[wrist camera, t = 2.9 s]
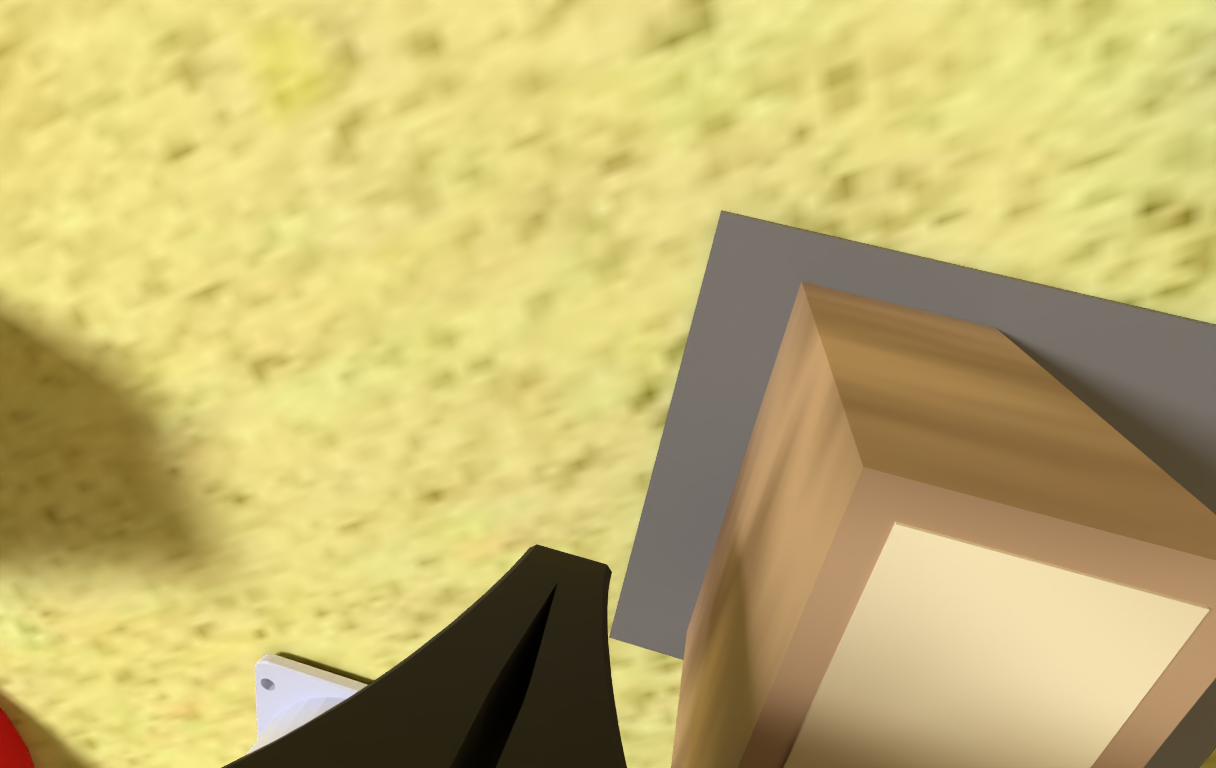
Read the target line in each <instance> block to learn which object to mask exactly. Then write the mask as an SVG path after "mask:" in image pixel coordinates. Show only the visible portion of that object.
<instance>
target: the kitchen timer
mask: <svg viewBox="0 0 1216 768" xmlns="http://www.w3.org/2000/svg"><path fill="white" fill-rule="evenodd" d="M0 768H34V765H33V762H32V759H31V756H30V753H29V750H28V748H27V747H26V745H25V743H24V742H23V740H22V739H21V737H20V736H19V734H18V732H17V731H16V729H15V728H14V726H13V725H12V723H11V721H10V720H9V718H8V717H7V715H6V714H5V712H4V711H3V710H2V709H1V708H0Z"/></svg>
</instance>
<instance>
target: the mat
mask: <svg viewBox="0 0 1216 768" xmlns="http://www.w3.org/2000/svg"><path fill="white" fill-rule="evenodd" d="M801 281H802V282H806V283H811V284H815V285H819V286H823V287H827V288H831V289H836V290H840V291H844V292H848V293H852V294H857V295H861V296H865V297H869V298H873V299H878V300H882V301H886V302H890V303H894V304H898V305H903V306H907V307H911V308H915V309H919V310H924V311H928V312H932V313H936V314H940V315H944V316H949V317H953V318H957V319H961V320H965V321H970V322H974V323H978V324H982V325H986V326H990V327H995V328H997V329H998V330H999V331H1000V332H1001V333H1002V334H1004V335H1005V336H1006V337H1007V338H1008V339H1009V340H1011V341H1012V342H1013V343H1014V344H1015V345H1017V346H1018V347H1019V348H1020V349H1021V350H1022V351H1024V352H1025V353H1026V354H1027V355H1028V356H1029V357H1031V358H1032V359H1033V360H1034V361H1035V362H1037V363H1038V364H1039V365H1040V366H1041V367H1042V368H1044V369H1045V370H1046V371H1047V372H1048V373H1049V374H1051V375H1052V376H1053V377H1054V378H1055V379H1057V380H1058V381H1059V382H1060V383H1061V384H1062V385H1064V386H1065V387H1066V388H1067V389H1068V390H1069V391H1071V392H1072V393H1073V394H1074V395H1075V396H1077V397H1078V398H1079V399H1080V400H1081V401H1082V402H1084V403H1085V404H1086V405H1087V406H1088V407H1089V408H1091V409H1092V410H1093V411H1094V412H1095V413H1097V414H1098V415H1099V416H1100V417H1101V418H1102V419H1104V420H1105V421H1106V422H1107V423H1108V424H1109V425H1111V426H1112V427H1113V428H1114V429H1115V430H1117V431H1118V432H1119V433H1120V434H1121V435H1122V436H1124V437H1125V438H1126V439H1127V440H1128V441H1129V442H1131V443H1132V444H1133V445H1134V446H1135V447H1137V448H1138V449H1139V450H1140V451H1141V452H1142V453H1144V454H1145V455H1146V456H1147V457H1148V458H1149V459H1151V460H1152V461H1153V462H1154V463H1155V464H1156V465H1158V466H1159V467H1160V468H1161V469H1162V470H1164V471H1165V472H1166V473H1167V474H1168V475H1169V476H1171V477H1172V478H1173V479H1174V480H1175V481H1176V482H1178V483H1179V484H1180V485H1181V486H1182V487H1184V488H1185V489H1186V490H1187V491H1188V492H1189V493H1191V494H1192V495H1193V496H1194V497H1195V498H1196V499H1198V500H1199V501H1200V502H1201V503H1202V504H1204V505H1205V506H1206V507H1207V508H1208V509H1209V510H1211V511H1212V512H1213V513H1214V514H1215V515H1216V325H1215V324H1211V323H1207V322H1202V321H1198V320H1194V319H1189V318H1185V317H1181V316H1176V315H1172V314H1168V313H1164V312H1159V311H1155V310H1151V309H1146V308H1142V307H1138V306H1133V305H1129V304H1125V303H1120V302H1116V301H1112V300H1107V299H1103V298H1099V297H1094V296H1090V295H1086V294H1081V293H1077V292H1073V291H1068V290H1064V289H1060V288H1055V287H1051V286H1047V285H1042V284H1038V283H1034V282H1029V281H1025V280H1021V279H1016V278H1012V277H1008V276H1003V275H999V274H995V273H990V272H986V271H982V270H977V269H973V268H969V267H964V266H960V265H956V264H951V263H947V262H943V261H938V260H934V259H930V258H925V257H921V256H917V255H912V254H908V253H904V252H899V251H895V250H891V249H886V248H882V247H878V246H873V245H869V244H865V243H860V242H856V241H852V240H847V239H843V238H839V237H834V236H830V235H826V234H821V233H817V232H813V231H808V230H804V229H800V228H795V227H791V226H787V225H782V224H778V223H774V222H769V221H765V220H761V219H757V218H752V217H748V216H744V215H739V214H735V213H731V212H726V211H722V210H721V214H720V218H719V221H718V225H717V229H716V233H715V237H714V240H713V244H712V248H711V252H710V256H709V260H708V263H707V267H706V271H705V275H704V279H703V282H702V286H701V290H700V294H699V298H698V301H697V305H696V309H695V313H694V317H693V320H692V324H691V328H690V332H689V336H688V339H687V343H686V347H685V351H684V355H683V358H682V362H681V366H680V370H679V374H678V377H677V381H676V385H675V389H674V393H673V397H672V400H671V404H670V408H669V412H668V416H667V419H666V423H665V427H664V431H663V435H662V438H661V442H660V446H659V450H658V454H657V457H656V461H655V465H654V469H653V473H652V476H651V480H650V484H649V488H648V492H647V495H646V499H645V503H644V507H643V511H642V514H641V518H640V522H639V526H638V530H637V534H636V537H635V541H634V545H633V549H632V553H631V556H630V560H629V564H628V568H627V572H626V575H625V579H624V583H623V587H622V591H621V594H620V598H619V602H618V606H617V610H616V613H615V617H614V621H613V625H612V629H611V632H610V636H609V637H610V638H613V639H616V640H620V641H623V642H626V643H629V644H633V645H636V646H639V647H643V648H646V649H649V650H653V651H656V652H659V653H662V654H666V655H669V656H672V657H676V658H679V659H682V660H684V652H685V643H686V634H687V630H688V627H689V624H690V621H691V617H692V614H693V611H694V608H695V605H696V602H697V599H698V596H699V593H700V590H701V587H702V584H703V581H704V578H705V575H706V572H707V569H708V566H709V562H710V559H711V556H712V553H713V550H714V547H715V544H716V541H717V538H718V535H719V532H720V529H721V526H722V523H723V520H724V517H725V514H726V511H727V507H728V504H729V501H730V498H731V495H732V492H733V489H734V486H735V483H736V480H737V477H738V474H739V471H740V468H741V465H742V462H743V459H744V456H745V452H746V449H747V446H748V443H749V440H750V437H751V434H752V431H753V428H754V425H755V422H756V419H757V416H758V413H759V410H760V407H761V404H762V401H763V397H764V394H765V391H766V388H767V385H768V382H769V379H770V376H771V373H772V370H773V367H774V364H775V361H776V358H777V355H778V352H779V349H780V346H781V342H782V339H783V336H784V333H785V330H786V327H787V324H788V321H789V318H790V315H791V312H792V309H793V306H794V303H795V300H796V297H797V294H798V291H799V287H800V284H801ZM1215 748H1216V678H1215V679H1214V681H1213V682H1212V683H1211V684H1210V686H1209V687H1208V688H1207V689H1206V690H1205V692H1204V693H1203V694H1202V695H1201V697H1200V698H1199V699H1198V700H1197V702H1196V703H1195V704H1194V705H1193V707H1192V708H1191V709H1190V710H1189V712H1188V713H1187V714H1186V715H1185V717H1184V718H1183V719H1182V720H1181V721H1180V723H1179V724H1178V725H1177V726H1176V728H1175V729H1174V730H1173V731H1172V733H1171V734H1170V735H1169V736H1168V738H1167V739H1166V740H1165V741H1164V743H1163V744H1162V745H1161V746H1160V747H1159V749H1158V750H1157V751H1156V752H1155V754H1154V755H1153V756H1152V757H1151V759H1150V760H1149V761H1148V762H1147V764H1146V765H1145V766H1144V767H1143V768H1199V767H1200V766H1201V765H1202V764H1203V762H1204V761H1205V760H1206V759H1207V758H1208V757H1209V755H1210V754H1211V753H1212V752H1213V751H1214V750H1215Z"/></svg>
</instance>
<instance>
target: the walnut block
mask: <svg viewBox="0 0 1216 768" xmlns="http://www.w3.org/2000/svg"><path fill="white" fill-rule="evenodd" d="M1215 678H1216V515H1215V514H1214V513H1213V512H1212V511H1211V510H1209V509H1208V508H1207V507H1206V506H1205V505H1204V504H1202V503H1201V502H1200V501H1199V500H1198V499H1196V498H1195V497H1194V496H1193V495H1192V494H1191V493H1189V492H1188V491H1187V490H1186V489H1185V488H1184V487H1182V486H1181V485H1180V484H1179V483H1178V482H1176V481H1175V480H1174V479H1173V478H1172V477H1171V476H1169V475H1168V474H1167V473H1166V472H1165V471H1164V470H1162V469H1161V468H1160V467H1159V466H1158V465H1156V464H1155V463H1154V462H1153V461H1152V460H1151V459H1149V458H1148V457H1147V456H1146V455H1145V454H1144V453H1142V452H1141V451H1140V450H1139V449H1138V448H1137V447H1135V446H1134V445H1133V444H1132V443H1131V442H1129V441H1128V440H1127V439H1126V438H1125V437H1124V436H1122V435H1121V434H1120V433H1119V432H1118V431H1117V430H1115V429H1114V428H1113V427H1112V426H1111V425H1109V424H1108V423H1107V422H1106V421H1105V420H1104V419H1102V418H1101V417H1100V416H1099V415H1098V414H1097V413H1095V412H1094V411H1093V410H1092V409H1091V408H1089V407H1088V406H1087V405H1086V404H1085V403H1084V402H1082V401H1081V400H1080V399H1079V398H1078V397H1077V396H1075V395H1074V394H1073V393H1072V392H1071V391H1069V390H1068V389H1067V388H1066V387H1065V386H1064V385H1062V384H1061V383H1060V382H1059V381H1058V380H1057V379H1055V378H1054V377H1053V376H1052V375H1051V374H1049V373H1048V372H1047V371H1046V370H1045V369H1044V368H1042V367H1041V366H1040V365H1039V364H1038V363H1037V362H1035V361H1034V360H1033V359H1032V358H1031V357H1029V356H1028V355H1027V354H1026V353H1025V352H1024V351H1022V350H1021V349H1020V348H1019V347H1018V346H1017V345H1015V344H1014V343H1013V342H1012V341H1011V340H1009V339H1008V338H1007V337H1006V336H1005V335H1004V334H1002V333H1001V332H1000V331H999V330H998V329H997V328H995V327H990V326H986V325H982V324H978V323H974V322H970V321H965V320H961V319H957V318H953V317H949V316H944V315H940V314H936V313H932V312H928V311H924V310H919V309H915V308H911V307H907V306H903V305H898V304H894V303H890V302H886V301H882V300H878V299H873V298H869V297H865V296H861V295H857V294H852V293H848V292H844V291H840V290H836V289H831V288H827V287H823V286H819V285H815V284H811V283H806V282H802V281H801V284H800V287H799V291H798V294H797V297H796V300H795V303H794V306H793V309H792V312H791V315H790V318H789V321H788V324H787V327H786V330H785V333H784V336H783V339H782V342H781V346H780V349H779V352H778V355H777V358H776V361H775V364H774V367H773V370H772V373H771V376H770V379H769V382H768V385H767V388H766V391H765V394H764V397H763V401H762V404H761V407H760V410H759V413H758V416H757V419H756V422H755V425H754V428H753V431H752V434H751V437H750V440H749V443H748V446H747V449H746V452H745V456H744V459H743V462H742V465H741V468H740V471H739V474H738V477H737V480H736V483H735V486H734V489H733V492H732V495H731V498H730V501H729V504H728V507H727V511H726V514H725V517H724V520H723V523H722V526H721V529H720V532H719V535H718V538H717V541H716V544H715V547H714V550H713V553H712V556H711V559H710V562H709V566H708V569H707V572H706V575H705V578H704V581H703V584H702V587H701V590H700V593H699V596H698V599H697V602H696V605H695V608H694V611H693V614H692V617H691V621H690V624H689V627H688V630H687V634H686V643H685V652H684V660H683V669H682V678H681V687H680V695H679V704H678V713H677V721H676V730H675V739H674V747H673V756H672V765H671V768H1143V767H1144V766H1145V765H1146V764H1147V762H1148V761H1149V760H1150V759H1151V757H1152V756H1153V755H1154V754H1155V752H1156V751H1157V750H1158V749H1159V747H1160V746H1161V745H1162V744H1163V743H1164V741H1165V740H1166V739H1167V738H1168V736H1169V735H1170V734H1171V733H1172V731H1173V730H1174V729H1175V728H1176V726H1177V725H1178V724H1179V723H1180V721H1181V720H1182V719H1183V718H1184V717H1185V715H1186V714H1187V713H1188V712H1189V710H1190V709H1191V708H1192V707H1193V705H1194V704H1195V703H1196V702H1197V700H1198V699H1199V698H1200V697H1201V695H1202V694H1203V693H1204V692H1205V690H1206V689H1207V688H1208V687H1209V686H1210V684H1211V683H1212V682H1213V681H1214V679H1215Z"/></svg>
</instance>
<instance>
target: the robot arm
mask: <svg viewBox="0 0 1216 768" xmlns="http://www.w3.org/2000/svg"><path fill="white" fill-rule="evenodd" d="M611 574H612V572H611V570H610V569H609V567H608V565H606V564H603V563H599V562H596V561H593V560H589V559H586V558H582V557H579V556H575V555H572V554H568V553H565V552H561V551H558V550H554V549H551V548H548V547H544V546H541V545H535V546H533V547H530V548H529V549H528V550H527V551H526V553H525V554H524V555H523V556H522V557H521V558H520V559H519V560H518V561H517V562H516V564H515V565H514V566H513V567H512V568H511V569H510V570H509V571H508V572H507V573H506V574H505V575H504V576H503V577H502V578H501V579H500V580H499V581H498V582H497V583H496V584H494V585H493V586H492V587H491V588H490V589H489V590H488V591H487V592H486V593H485V594H484V595H483V596H482V597H480V598H479V599H478V600H477V601H476V602H475V603H474V604H473V605H471V606H470V607H469V608H468V609H467V610H466V611H465V612H463V613H462V614H461V615H460V616H459V617H458V618H457V619H455V620H454V621H453V622H452V623H451V624H450V625H448V626H447V627H446V628H445V629H443V630H442V631H441V632H439V633H438V634H437V635H436V636H434V637H433V638H432V639H430V640H429V641H428V642H427V643H425V644H424V645H423V646H422V647H420V648H419V649H418V650H416V651H415V652H414V653H413V654H411V655H410V656H409V657H407V658H406V659H405V660H403V661H402V662H400V663H399V664H398V665H396V666H395V667H393V668H392V669H391V670H389V671H388V672H386V673H385V674H383V675H382V676H381V677H379V678H378V679H376V680H375V681H373V682H372V683H370V684H369V685H368V684H365V683H361V682H358V681H355V680H352V679H349V678H346V677H343V676H340V675H337V674H334V673H331V672H327V671H324V670H321V669H318V668H315V667H312V666H309V665H306V664H303V663H300V662H296V661H293V660H290V659H287V658H284V657H281V656H278V655H274V654H266V655H264V656H263V657H262V658H261V659H260V660H259V661H258V662H257V663H256V665H255V686H256V711H257V736H258V740H257V741H256V742H255V744H254V745H253V746H252V747H251V749H250V750H249V751H248V752H247V754H246V755H245V756H244V757H242V758H240V759H238V760H236V761H234V762H232V763H230V764H228V765H226V766H224V767H222V768H627V765H626V761H625V756H624V752H623V747H622V742H621V736H620V731H619V726H618V719H617V713H616V707H615V701H614V694H613V686H612V678H611V668H610V657H609V646H608V626H607V606H608V590H609V583H610V578H611Z"/></svg>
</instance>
